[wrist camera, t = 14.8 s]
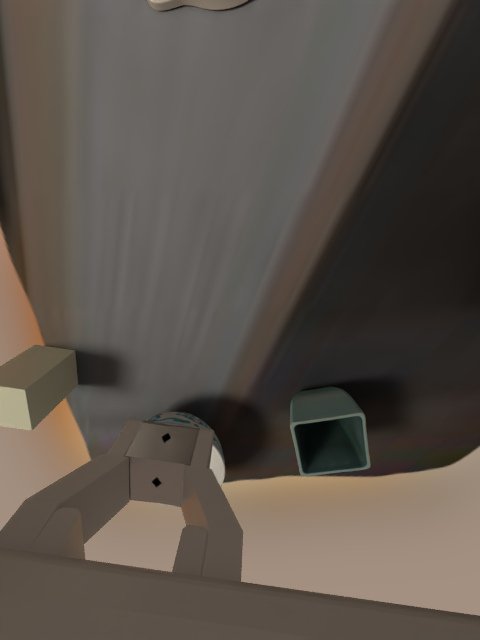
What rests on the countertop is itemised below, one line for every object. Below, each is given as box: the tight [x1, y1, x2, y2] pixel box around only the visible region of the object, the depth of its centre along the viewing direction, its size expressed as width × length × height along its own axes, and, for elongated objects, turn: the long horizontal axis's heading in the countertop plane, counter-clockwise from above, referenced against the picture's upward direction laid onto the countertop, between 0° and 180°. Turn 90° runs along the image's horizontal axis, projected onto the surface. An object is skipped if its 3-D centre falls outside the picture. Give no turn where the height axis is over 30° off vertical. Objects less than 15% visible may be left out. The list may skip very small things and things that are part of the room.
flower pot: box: [290, 387, 370, 476], centre depth 40 cm, size 9×9×9 cm
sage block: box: [0, 345, 78, 430], centre depth 39 cm, size 6×6×10 cm
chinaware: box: [146, 412, 225, 507], centre depth 44 cm, size 15×15×8 cm
